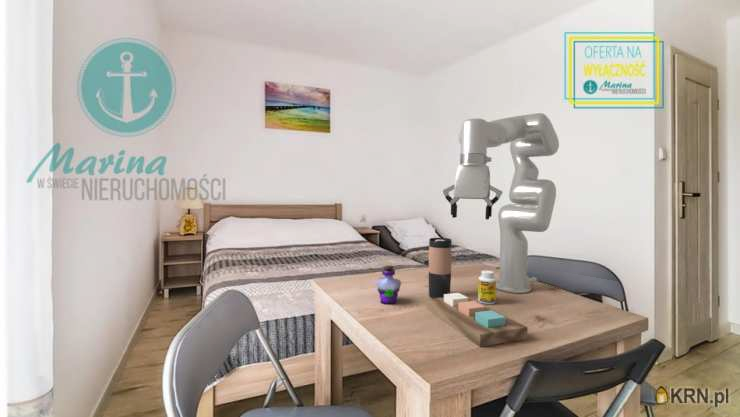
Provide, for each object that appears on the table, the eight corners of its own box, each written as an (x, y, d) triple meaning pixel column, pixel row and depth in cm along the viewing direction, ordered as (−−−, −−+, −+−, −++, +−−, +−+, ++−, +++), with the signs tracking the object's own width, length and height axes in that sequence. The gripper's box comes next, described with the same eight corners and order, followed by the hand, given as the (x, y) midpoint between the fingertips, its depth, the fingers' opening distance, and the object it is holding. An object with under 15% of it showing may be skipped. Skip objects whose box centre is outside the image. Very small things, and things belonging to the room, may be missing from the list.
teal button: (491, 321, 92) (491, 310, 92) (505, 328, 87) (505, 317, 87) (475, 323, 90) (475, 312, 90) (487, 331, 85) (488, 319, 85)
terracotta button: (473, 310, 100) (473, 300, 99) (485, 317, 95) (485, 306, 94) (458, 312, 98) (458, 302, 98) (468, 319, 93) (469, 308, 93)
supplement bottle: (477, 303, 112) (478, 272, 111) (477, 298, 117) (478, 269, 116) (496, 305, 110) (497, 274, 109) (495, 300, 115) (496, 270, 115)
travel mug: (449, 293, 123) (450, 237, 121) (452, 300, 115) (453, 241, 114) (427, 292, 123) (428, 237, 122) (429, 299, 116) (429, 240, 114)
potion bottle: (381, 307, 108) (381, 270, 107) (371, 299, 116) (371, 264, 115) (406, 304, 111) (406, 267, 110) (394, 296, 119) (394, 262, 118)
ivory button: (458, 302, 107) (458, 292, 107) (468, 307, 102) (468, 297, 102) (443, 303, 105) (443, 294, 105) (452, 309, 101) (453, 299, 100)
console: (465, 304, 111) (465, 294, 111) (527, 338, 86) (527, 327, 86) (426, 308, 107) (426, 299, 107) (479, 346, 81) (480, 334, 81)
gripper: (504, 162, 102) (502, 219, 103) (447, 163, 110) (445, 216, 111) (502, 159, 96) (499, 220, 96) (441, 160, 103) (439, 217, 104)
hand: (470, 218), depth 103 cm, fingers open, 9 cm apart
